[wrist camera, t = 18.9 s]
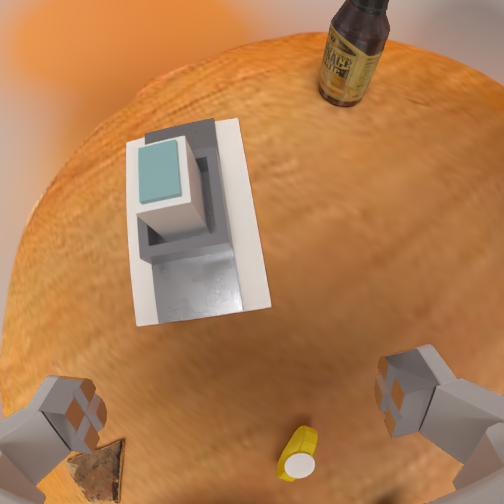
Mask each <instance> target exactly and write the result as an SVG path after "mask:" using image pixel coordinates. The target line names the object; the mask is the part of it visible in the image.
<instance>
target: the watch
mask: <svg viewBox="0 0 504 504" xmlns="http://www.w3.org/2000/svg"><path fill="white" fill-rule="evenodd" d="M317 440H318V434H317V431H316V430H315V429H313V428H310V427H308V426H305V425H304V426H300V427H299V428H298V429H297V430H296V431H295V432H294V434H293V436H292V437H291V439H290V441H289V442H288V444H287V446H286V447H285V449H284V450H283V452H282V454H281V456H280V459H279V461H278V464H277V468H276V476H277V478H280V479H283V480H285V481H288V482H293V481H294V480H296V479H297V478H304V477H307V476H308V475H310V474H311V473H312V472H313V470H314V468H315V461H314V458H313V453H314V451H315V448H316V445H317Z"/></svg>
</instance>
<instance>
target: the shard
mask: <svg viewBox="0 0 504 504" xmlns="http://www.w3.org/2000/svg"><path fill="white" fill-rule="evenodd" d="M123 460H124V441H123V440H120V441H118V442H115V443H113V444H111V445H109V446H107V447H104V448H102V449H99V450H95V451H94V454H88V453H84V454H82V455H78V456H76V457H74V458H73V459H71V460H68V461H66V464H67V467H68V469H69V472H70V474H71V476H72V477H73V479H74V481H75V482H76V483H77V485H78V487H79V488H80V489H81V491H82V492H83V494H84V495H85V497H86V498H87V500H88V501H89V502H91V503H98V502H115V503H120V489H121V487H120V479H121V474H122V466H123Z"/></svg>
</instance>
